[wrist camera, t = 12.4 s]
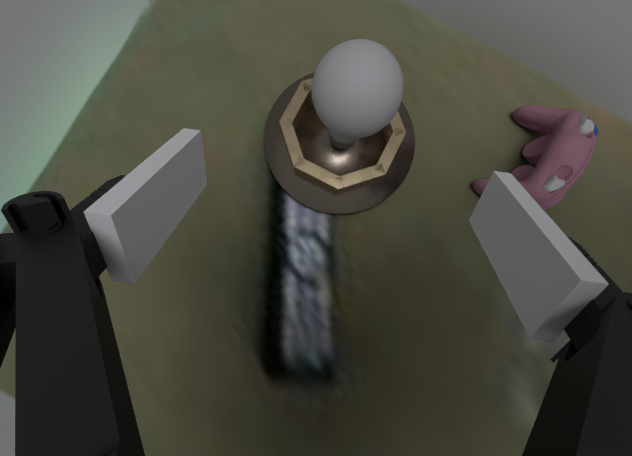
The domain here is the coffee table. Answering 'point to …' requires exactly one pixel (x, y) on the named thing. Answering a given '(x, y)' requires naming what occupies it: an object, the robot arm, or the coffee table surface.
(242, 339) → the coffee table surface
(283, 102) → the socket
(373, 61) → the lightbulb
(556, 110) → the video game controller
